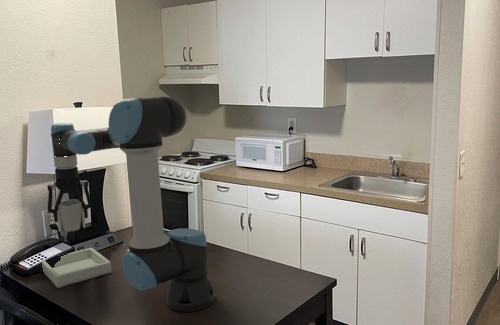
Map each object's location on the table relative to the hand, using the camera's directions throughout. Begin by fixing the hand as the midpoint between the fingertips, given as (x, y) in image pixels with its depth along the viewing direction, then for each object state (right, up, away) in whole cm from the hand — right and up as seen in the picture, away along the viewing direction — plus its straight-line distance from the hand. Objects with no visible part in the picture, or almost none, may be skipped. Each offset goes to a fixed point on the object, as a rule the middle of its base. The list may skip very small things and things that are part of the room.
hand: (72, 228), depth 166 cm
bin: (0, -16, +3) cm, 17 cm away
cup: (0, 0, 0) cm, 0 cm away
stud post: (+19, -15, +7) cm, 25 cm away
